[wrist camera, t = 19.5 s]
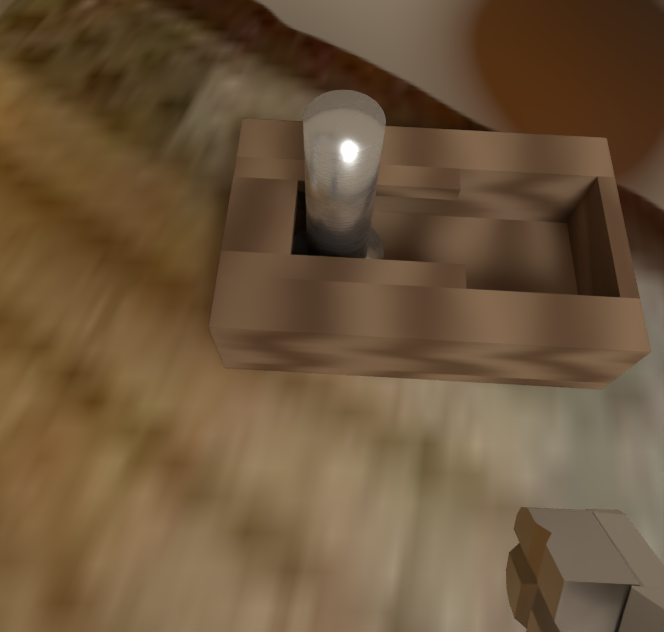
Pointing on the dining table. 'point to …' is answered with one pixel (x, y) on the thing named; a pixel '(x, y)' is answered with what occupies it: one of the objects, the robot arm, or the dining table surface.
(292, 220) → the wooden compartment tray
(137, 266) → the dining table surface
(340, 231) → the steel peg
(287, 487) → the dining table surface
